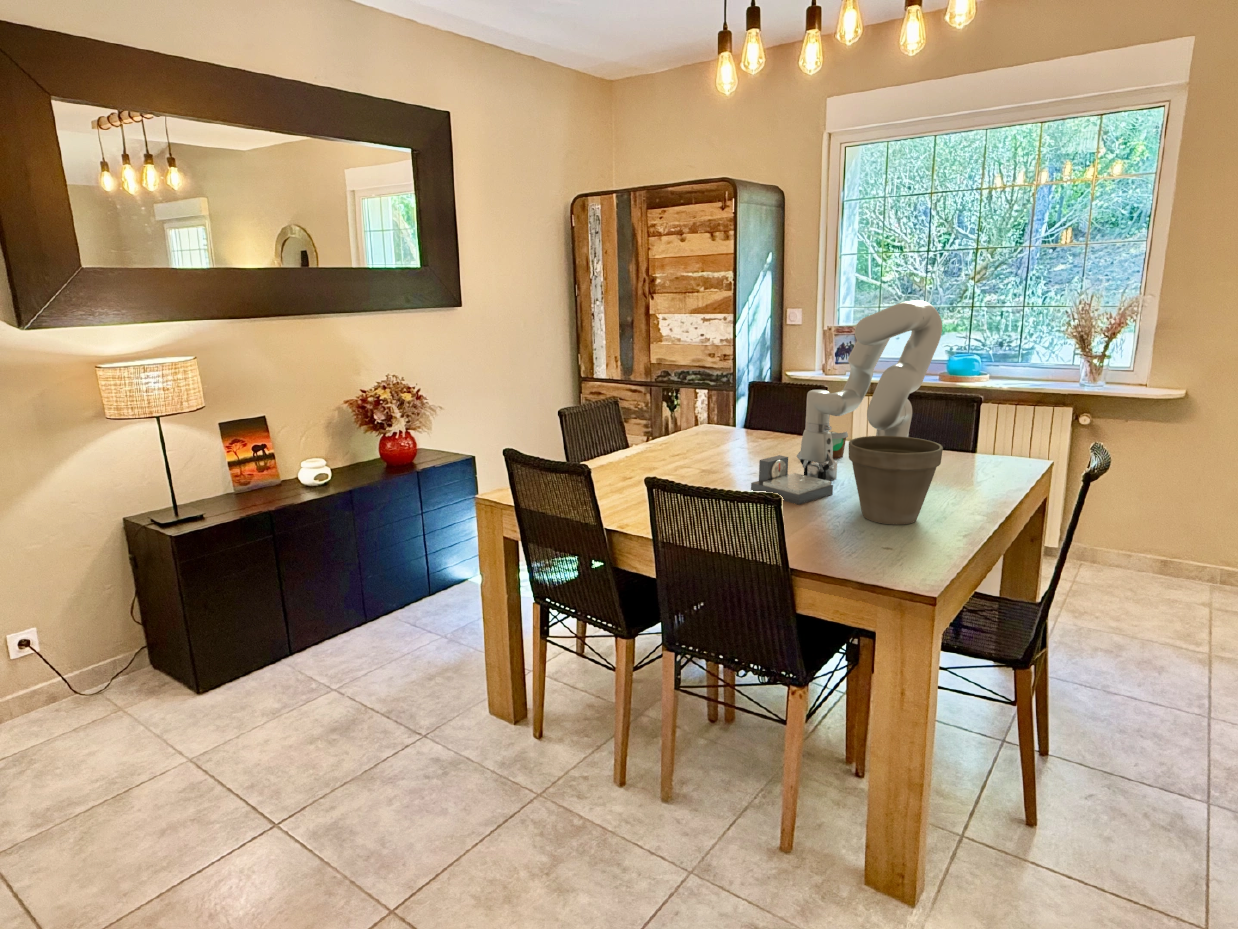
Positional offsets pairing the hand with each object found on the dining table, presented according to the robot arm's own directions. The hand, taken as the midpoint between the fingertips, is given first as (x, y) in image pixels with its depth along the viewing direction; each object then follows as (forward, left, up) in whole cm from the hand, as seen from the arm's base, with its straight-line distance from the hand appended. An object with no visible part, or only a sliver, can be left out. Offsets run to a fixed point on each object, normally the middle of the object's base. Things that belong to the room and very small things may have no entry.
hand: (814, 480), depth 251 cm
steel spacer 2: (0, -8, -1) cm, 8 cm away
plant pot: (-37, +15, -1) cm, 40 cm away
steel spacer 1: (0, 0, -1) cm, 1 cm away
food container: (+18, -33, -1) cm, 38 cm away
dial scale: (-3, +16, -1) cm, 16 cm away
